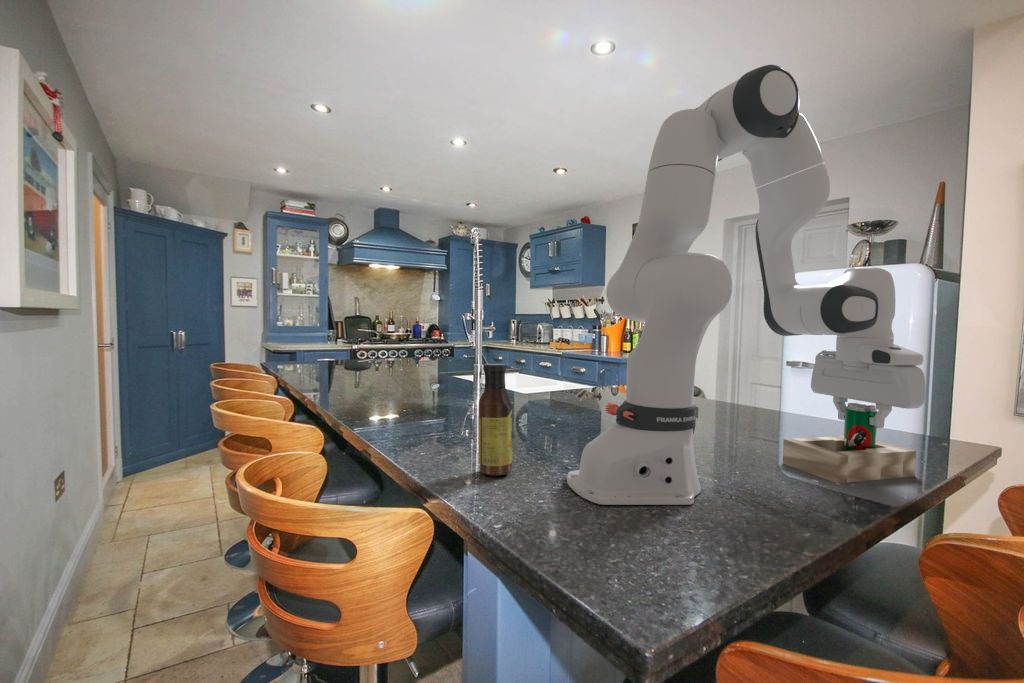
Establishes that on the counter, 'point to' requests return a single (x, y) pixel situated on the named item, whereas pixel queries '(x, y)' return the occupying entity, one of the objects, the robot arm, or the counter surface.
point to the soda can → (859, 427)
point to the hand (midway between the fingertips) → (860, 423)
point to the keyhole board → (848, 460)
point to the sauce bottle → (495, 423)
